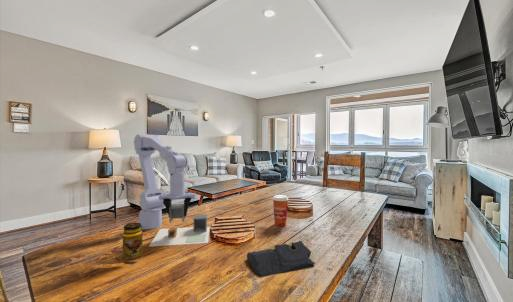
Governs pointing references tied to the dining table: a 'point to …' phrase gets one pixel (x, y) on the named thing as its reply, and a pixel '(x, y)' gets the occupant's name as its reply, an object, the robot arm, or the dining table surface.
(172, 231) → the letter cube
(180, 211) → the left cover
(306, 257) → the folded black cloth
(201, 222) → the right cover
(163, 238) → the board
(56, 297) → the dining table surface
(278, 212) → the paper cup
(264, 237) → the dining table surface
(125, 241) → the condiment
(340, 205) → the dining table surface
